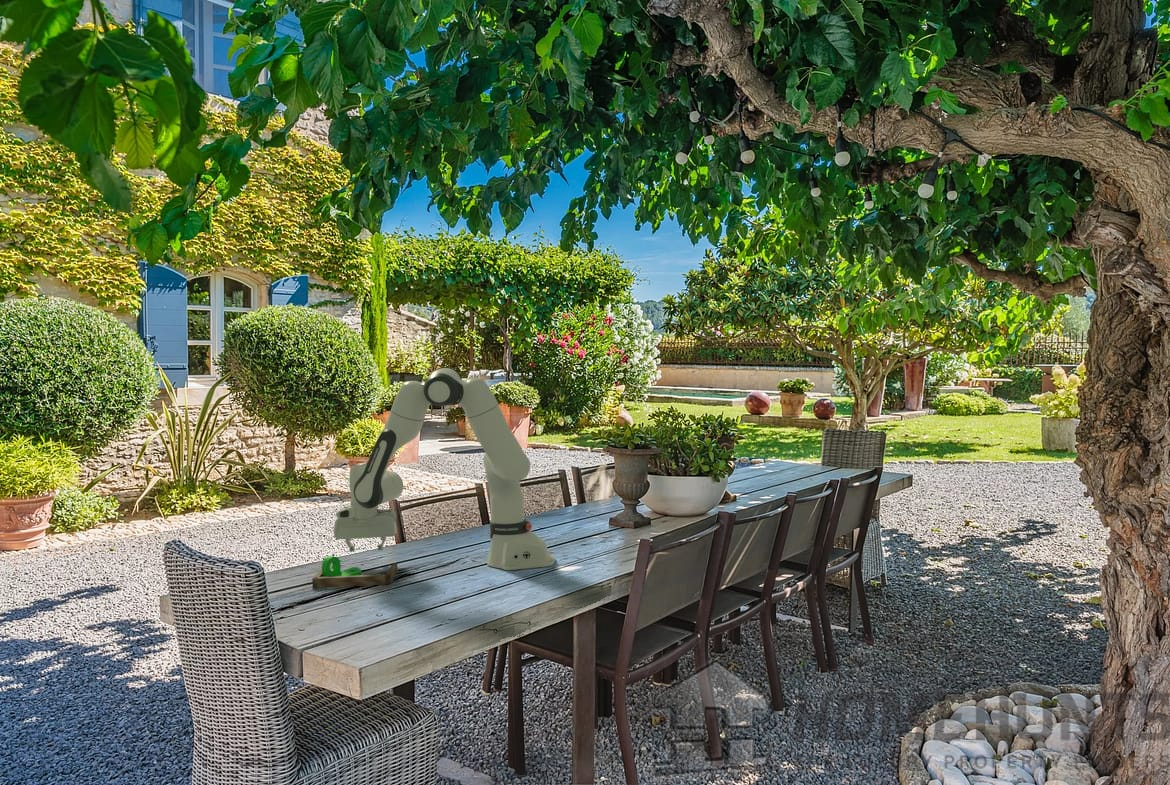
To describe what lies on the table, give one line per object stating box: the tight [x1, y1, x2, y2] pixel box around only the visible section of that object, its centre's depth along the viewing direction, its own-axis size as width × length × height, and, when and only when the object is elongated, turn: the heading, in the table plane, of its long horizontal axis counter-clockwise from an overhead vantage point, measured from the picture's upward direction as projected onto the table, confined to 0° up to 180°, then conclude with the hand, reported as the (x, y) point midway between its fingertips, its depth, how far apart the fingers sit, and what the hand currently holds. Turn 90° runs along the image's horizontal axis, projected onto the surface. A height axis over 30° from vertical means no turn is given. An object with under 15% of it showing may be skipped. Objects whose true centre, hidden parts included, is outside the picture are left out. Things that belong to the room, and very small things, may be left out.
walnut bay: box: [311, 562, 399, 589], centre depth 235 cm, size 23×14×3 cm, turn 95°
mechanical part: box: [321, 555, 363, 577], centre depth 237 cm, size 12×6×8 cm, turn 150°
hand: (366, 550), depth 254 cm, fingers open, 8 cm apart
